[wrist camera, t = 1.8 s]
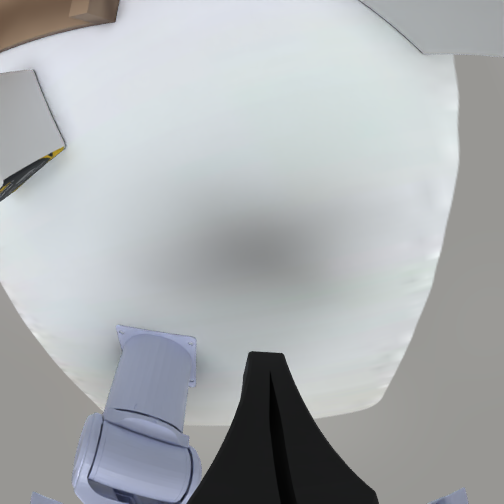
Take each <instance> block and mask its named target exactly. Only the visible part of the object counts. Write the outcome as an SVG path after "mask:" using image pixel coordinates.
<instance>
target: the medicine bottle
mask: <svg viewBox="0 0 504 504" xmlns="http://www.w3.org/2000/svg"><path fill="white" fill-rule="evenodd" d="M64 148H65V143H64V141H63V139H62V137H61V135H60V133H59V131H58V129H57V126H56V124H55V122H54V120H53V118H52V115H51V113H50V111H49V108H48V106H47V104H46V101H45V99H44V96H43V94H42V92H41V89H40V86H39V84H38V81H37V79H36V76H35V73H34V71H33V70H21V71H13V72H6V73H0V201H2V200H3V199H5V198H6V197H7V196H9V195H10V194H11V193H13V192H14V191H16V190H17V189H18V188H19V187H20V186H21V185H22V184H23V183H24V182H25V181H26V180H28V179H29V178H30V177H31V176H32V175H33V174H34V173H36V172H37V171H38V170H39V169H40V168H41V167H43V166H44V165H45V164H46V163H47V162H49V161H50V160H51V159H52V158H54V157H55V156H56V155H57V154H59V153H60V152H61V151H62V150H63V149H64Z"/></svg>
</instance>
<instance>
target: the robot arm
mask: <svg viewBox="0 0 504 504" xmlns="http://www.w3.org/2000/svg"><path fill="white" fill-rule="evenodd" d="M116 330H117V334H118V338H119V341H120V345H121V348H122V355H121V358H120V361H119V364H118V367H117V370H116V373H115V376H114V380H113V383H112V386H111V389H110V393H109V396H108V399H107V403H106V406H105V410H104V412H103V414H99V413H97V412H95V413H94V414H92V415H89V416H88V417H87V419H86V421H85V424H84V427H83V430H82V433H81V436H80V440H79V443H78V447H77V451H76V455H75V460H74V468H73V473H72V485H73V487H74V492H75V494H76V495H77V496H78V497H79V499H80V500H81V501H82V502H83V503H84V504H379V502H378V499H377V496H376V493H375V491H374V490H373V489H372V488H370V487H369V486H368V485H367V484H366V483H365V482H364V481H362V480H361V479H360V478H359V477H358V476H357V475H356V474H355V473H354V472H353V471H352V470H351V469H350V468H349V467H348V466H347V464H345V462H344V461H343V460H342V459H341V457H340V456H339V455H338V454H337V453H336V452H335V450H334V449H333V448H332V446H331V445H330V444H329V442H328V441H327V440H326V438H325V437H324V435H323V434H322V432H321V431H320V429H319V428H318V426H317V425H316V423H315V422H314V420H313V418H312V416H311V414H310V413H309V411H308V409H307V407H306V405H305V403H304V401H303V399H302V397H301V395H300V393H299V391H298V389H297V387H296V385H295V382H294V380H293V378H292V375H291V373H290V370H289V368H288V365H287V362H286V359H285V356H284V354H283V353H270V352H255V351H251V352H249V353H248V358H247V362H246V366H245V371H244V375H243V385H242V393H241V399H240V402H239V405H238V408H237V411H236V413H235V416H234V419H233V421H232V424H231V426H230V429H229V431H228V433H227V435H226V437H225V439H224V442H223V443H222V446H221V448H220V450H219V451H218V453H217V455H216V457H215V459H214V461H213V463H212V464H211V466H210V468H209V469H208V471H207V473H206V474H205V476H204V478H203V479H202V481H201V476H202V466H201V461H200V458H199V456H198V454H197V452H196V450H195V449H194V448H193V447H192V446H190V445H189V436H188V435H185V434H183V426H184V418H185V410H186V402H187V394H188V387H195V386H196V339H195V338H194V337H192V336H185V335H177V334H170V333H164V332H157V331H151V330H145V329H139V328H133V327H128V326H123V325H117V326H116ZM119 331H122V332H123V334H122V333H120V332H119ZM189 342H192V343H193V345H190V344H189ZM189 380H193V381H189ZM30 504H64V503H61V502H59V501H56V500H54V499H50V498H47V497H45V496H43V495H41V494H39V493H36V492H32V496H31V501H30ZM427 504H469V503H468V498H467V494H466V490H465V488H462V489H459V490H457V491H455V492H453V493H451V494H449V495H447V496H444V497H441V498H439V499H436V500H434V501H431V502H429V503H427Z"/></svg>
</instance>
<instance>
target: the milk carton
mask: <svg viewBox="0 0 504 504" xmlns="http://www.w3.org/2000/svg"><path fill="white" fill-rule="evenodd" d="M360 1H361V2H363V3H364V4H365V5H367V6H368V7H370V8H371V9H372V10H373V11H375V12H376V13H377V14H379V15H380V16H381V17H382V18H384V19H385V20H386V21H387V22H389V23H390V24H391V25H392V26H393V27H395V28H396V29H397V30H398V31H399V32H400V33H402V34H403V35H404V36H405V37H406V38H407V39H408V40H409V41H410V42H411V43H413V44H414V45H415V46H416V47H417V48H418V49H419V50H420V51H421V52H422V53H423V54H463V55H465V54H466V55H482V56H494V57H503V58H504V0H360Z"/></svg>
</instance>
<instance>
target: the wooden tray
mask: <svg viewBox="0 0 504 504" xmlns="http://www.w3.org/2000/svg"><path fill="white" fill-rule="evenodd" d="M118 5H119V0H0V53H1V52H3V51H5V50H8V49H11V48H13V47H16V46H19V45H21V44H24V43H27V42H30V41H33V40H37V39H40V38H43V37H46V36H50V35H54V34H57V33H61V32H65V31H70V30H74V29H78V28H83V27H88V26H94V25H100V24H106V23H113V22H115V20H116V14H117V9H118Z"/></svg>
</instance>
